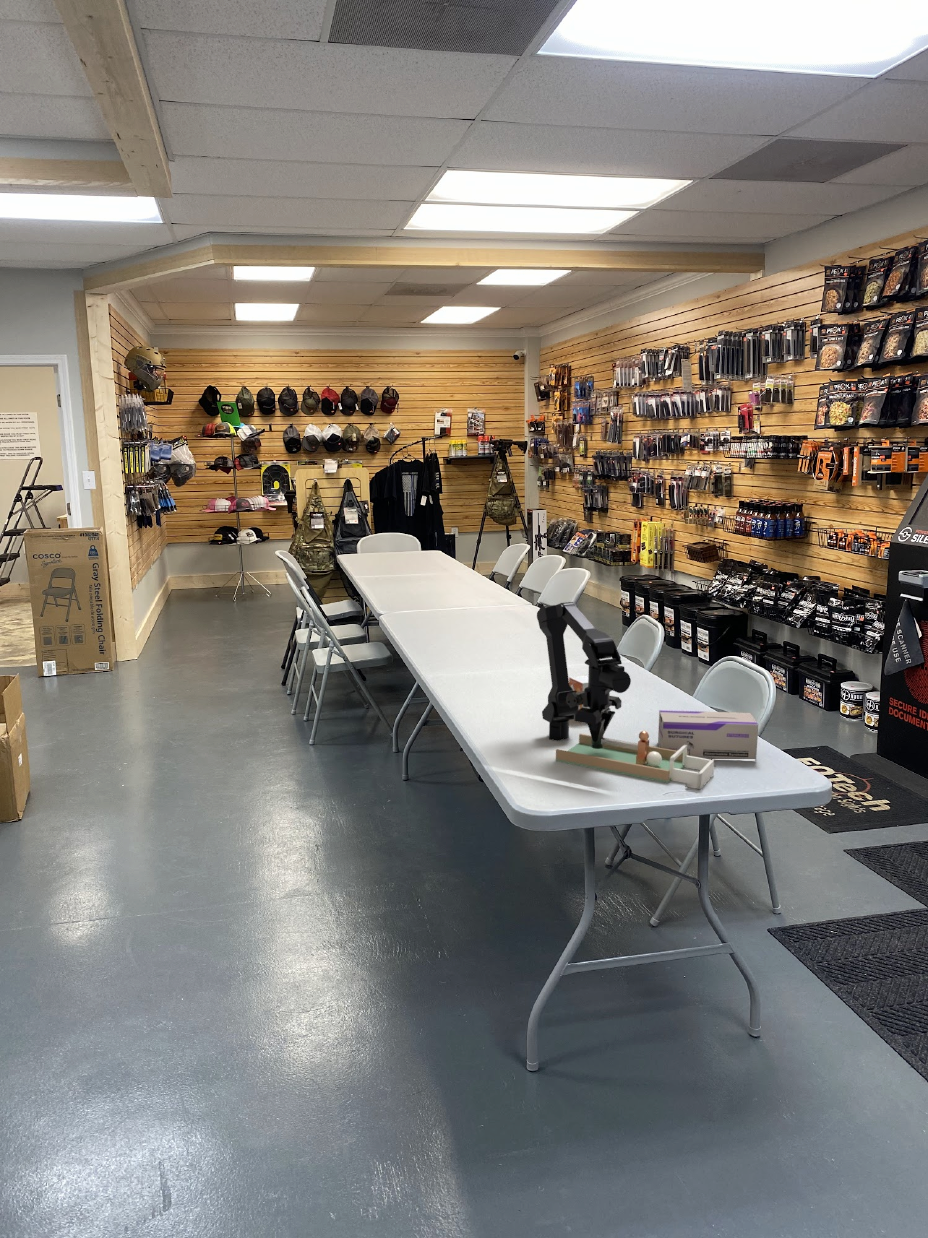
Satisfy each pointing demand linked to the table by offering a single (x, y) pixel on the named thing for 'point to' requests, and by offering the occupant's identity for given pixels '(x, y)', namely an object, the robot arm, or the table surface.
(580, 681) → the small box
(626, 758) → the pitch
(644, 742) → the rod
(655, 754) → the ball
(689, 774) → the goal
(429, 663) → the table surface
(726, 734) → the surgical sutures box
